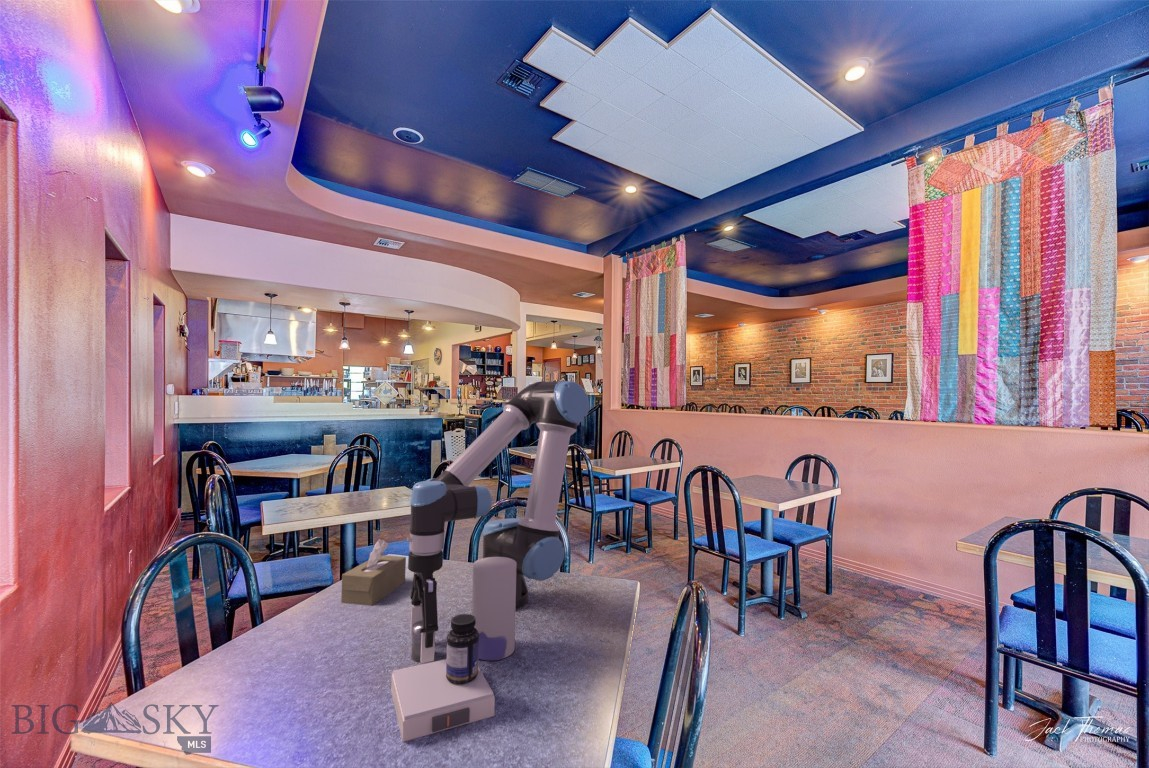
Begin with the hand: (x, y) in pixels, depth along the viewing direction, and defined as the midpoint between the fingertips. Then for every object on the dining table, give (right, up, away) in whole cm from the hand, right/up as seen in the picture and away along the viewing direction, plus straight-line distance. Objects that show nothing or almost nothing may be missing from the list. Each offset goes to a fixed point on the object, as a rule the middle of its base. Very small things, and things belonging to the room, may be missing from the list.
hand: (421, 647), depth 109 cm
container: (+15, -3, +3) cm, 16 cm away
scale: (+9, -2, -17) cm, 19 cm away
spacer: (0, -2, 0) cm, 2 cm away
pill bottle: (+13, +2, -15) cm, 19 cm away
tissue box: (-25, -3, +36) cm, 44 cm away
